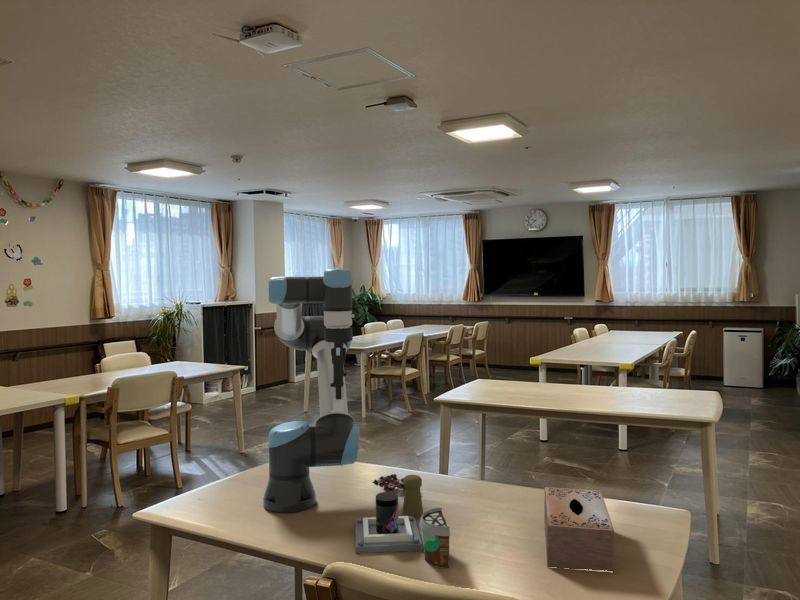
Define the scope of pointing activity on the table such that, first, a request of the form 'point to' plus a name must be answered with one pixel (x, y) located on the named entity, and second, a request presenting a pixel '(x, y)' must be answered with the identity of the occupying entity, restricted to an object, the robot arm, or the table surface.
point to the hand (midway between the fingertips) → (339, 405)
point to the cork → (412, 497)
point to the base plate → (387, 536)
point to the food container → (435, 538)
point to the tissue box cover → (578, 529)
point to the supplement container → (386, 513)
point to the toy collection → (390, 482)
